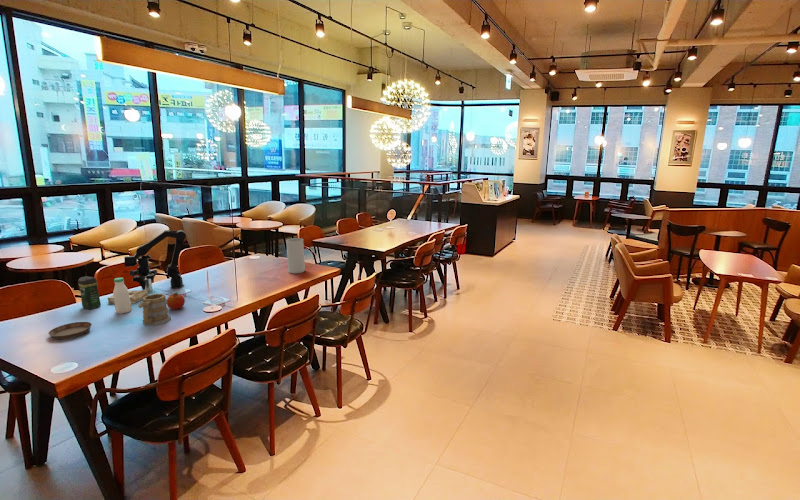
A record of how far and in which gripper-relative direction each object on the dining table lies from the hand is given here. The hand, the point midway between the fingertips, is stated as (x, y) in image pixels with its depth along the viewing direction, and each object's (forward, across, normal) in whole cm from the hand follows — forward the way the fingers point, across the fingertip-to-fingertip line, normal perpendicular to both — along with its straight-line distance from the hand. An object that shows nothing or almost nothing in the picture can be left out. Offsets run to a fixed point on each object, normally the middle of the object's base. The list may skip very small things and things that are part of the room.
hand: (147, 287), depth 285 cm
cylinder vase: (+2, -45, +89) cm, 100 cm away
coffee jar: (+2, +30, -16) cm, 34 cm away
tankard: (+2, +56, +35) cm, 66 cm away
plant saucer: (+2, +68, 0) cm, 68 cm away
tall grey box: (+2, 0, 0) cm, 2 cm away
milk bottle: (+2, +38, +8) cm, 39 cm away
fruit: (+2, +33, +36) cm, 49 cm away
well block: (+2, +17, -2) cm, 17 cm away
